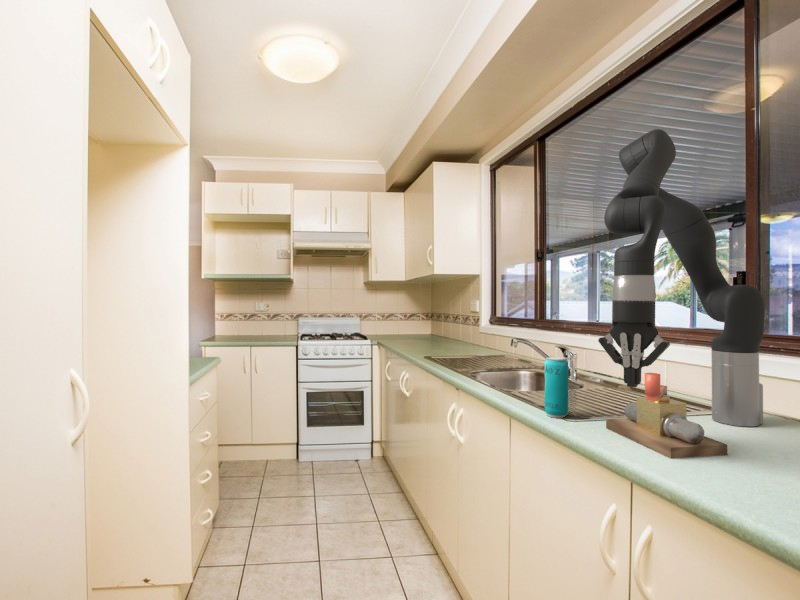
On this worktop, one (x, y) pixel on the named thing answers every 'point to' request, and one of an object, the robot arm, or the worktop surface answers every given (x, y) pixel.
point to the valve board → (665, 429)
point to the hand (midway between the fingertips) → (632, 386)
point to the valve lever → (654, 387)
